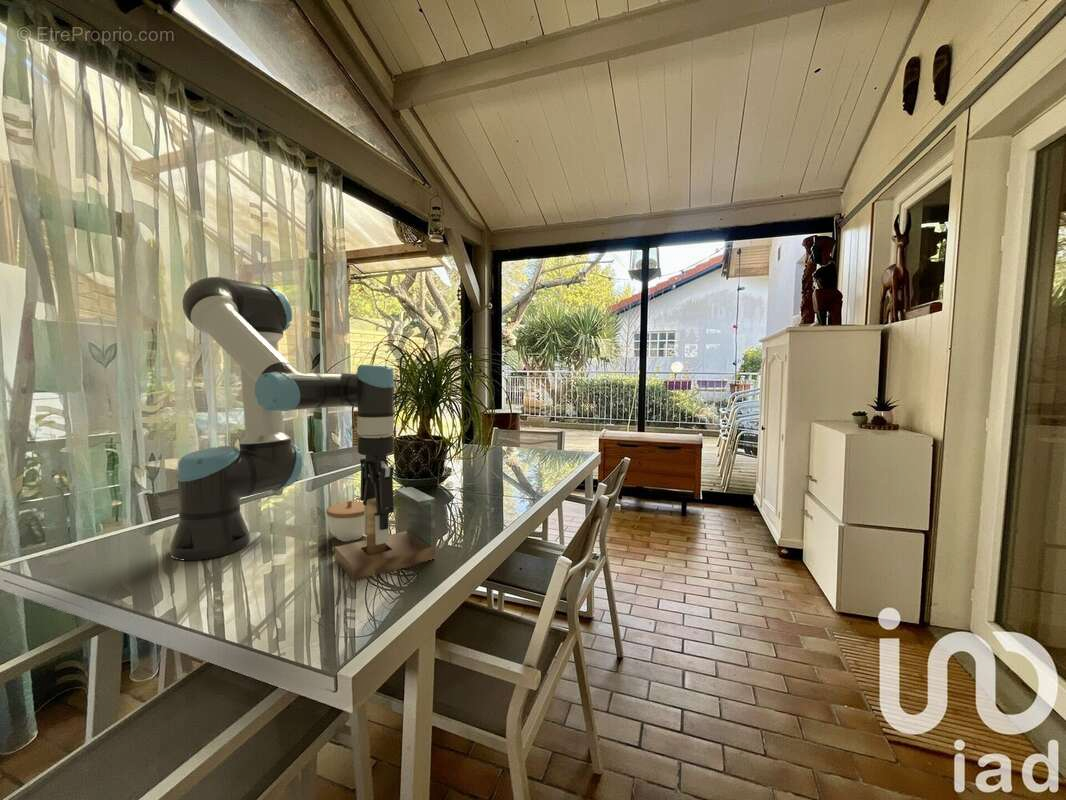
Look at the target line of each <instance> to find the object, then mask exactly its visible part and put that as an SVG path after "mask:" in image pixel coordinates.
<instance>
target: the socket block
mask: <svg viewBox="0 0 1066 800" xmlns="http://www.w3.org/2000/svg"><path fill="white" fill-rule="evenodd" d="M394 491H395V494H396V495H397V496H400V497H401V498H403V499H405V500H407V501H406V530H405V531H401V532H395V533H392V534H391V533H390V534H389V542H387V543H386V552H382V553H378V554H374V555H369V556H368V555H367V539H365V540H361V541H360V540H359V541H356V542H351V543H347V544H346V543H345V544H342V545H339V546H338V545H337V546H334V560H336V561H337V562H336V561H335V562H336V563H337V564H338V565H339V567H340V568H341V567H342V568H343V569H342V568H341V569H342V570H343V571H344V572H345V574H346V575H347V574H348V575H349V576H350V577H349V576H348V575H347V576H348V577H349V578H350V579H351V580H352V582H358V581H361V580H360V579H362V580H364V579H363V578H365V579H367V578H366V577H369V576H372V577H374V576H373V575H376V576H378V575H377V574H380V575H382V574H381V573H383V574H386V572H387V573H390V572H393V571H396V570H397V569H398V570H401V569H404V568H408V567H411V566H415V564H416V565H418V564H422V562H423V563H425V561H426V562H429V561H428V560H430V561H433V560H432V559H434V560H436V498H435V497H433V496H431V495H429V494H427V493H425V492H422V491H420V490H419V489H416V488H414V487H413V486H407V487H402V488H395V490H394ZM369 578H370V577H369ZM357 580H358V581H357Z"/></svg>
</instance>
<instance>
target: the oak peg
mask: <svg viewBox="0 0 1066 800" xmlns="http://www.w3.org/2000/svg"><path fill="white" fill-rule="evenodd" d="M374 513H377V507H376V498H372V499H368V500H367V535H366V540H367V555H368V556H369V555H374V554H378V553H382V552H386V543H383V544H379V545H376V544H375V516H374Z"/></svg>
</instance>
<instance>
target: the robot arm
mask: <svg viewBox="0 0 1066 800" xmlns="http://www.w3.org/2000/svg"><path fill="white" fill-rule="evenodd" d="M291 306H292V305H291V302H290V300H289V299H288V297H287V296H286V294H284V293H283V291H281V290H280V289H278V288H275V287H273V286H272V287H271V286H268V285H265V284H261V283H260V284H259V283H258V284H257V283H252V282H247V281H240V280H236V279H230V278H225V277H220V276H212V277H211V276H209V277H204V278H201V279H199V280H197V281H195V282H194V283H192V284H191V285H190V286H188V288H187V289H186V290H185V292H184V294H183V297H182V310H183V313H184V315H185V317H186V318H187V320H188V321H189V322H190V323H191V324H192V326H194V328H195V329H196V330H198V331H200V332H201V333H204V334H208V335H209V336H210V337H211V338H212V339H213V340H214V341H215V342H216V343H217V344H218V345H219V346H220V347H221V348H222V350H224V351H225V352H226V354H228V355H229V357H230V358H231V359H232V360H233V361H234V362H235V363H236V364H237V365H238V366H239V367H240V377H241V389H242V390H241V391H242V403H243V415H244V416H243V417H244V431H245V432H244V433H245V436H244V437H243V438H242V439H240V441H239V444H238V445H239V448H238V447H237V446H235V445H222V446H217V447H208V448H204V449H198V450H195V451H192V452H189V453H187V454H185V455H184V456H182V457H181V458H180V459H179V461H178V462H177V463H178V464H177V465H178V467H177V474H176V480H177V490H178V492H177V493H178V494H177V495H178V496H177V497H178V514H179V515H178V519H179V520H178V523H177V527H176V528H175V532H174V535H173V537H172V540H171V543H170V547H169V549H170V550H169V551H170V552H169V554H171V555H172V556H173V557H175V558H178V559H184V560H193V561H203V560H202V559H204V560H209V559H208V558H210V559H215V558H218V557H219V556H220V557H223V555H224V556H226V555H230V554H233V553H236V552H238V551H240V550H242V549H244V548H245V547H246V545H247V544H248V545H249V543H250V532H249V529H248V527H247V524H246V522H245V520H244V517H243V514H242V513H241V498H242V499H243V498H247V497H251V496H255V495H258V494H259V495H260V494H263V493H267V492H272V491H274V492H276V491H279V490H281V489H284V488H287V487H290V486H292V485H294V484H295V482H296V481H297V480H298V479H299V477H300V475H301V473H302V471H303V465H304V464H303V461H304V460H303V455H302V452H301V451H300V448H299V447H298V445H296V444H294V443H292V438H291V437H290V436H289V435H288V434H286V433H285V431H284V430H285V429H284V418H283V417H284V416H283V412H287V411H288V412H289V411H295V410H298V411H299V410H307V409H310V410H311V409H324V408H337V407H349V408H351V407H352V408H353V407H354V408H357V415H356V421H357V422H356V423H357V425H356V426H357V427H356V431H357V432H356V434H358V435H359V436H358V437H357V452H358V454H359V455H361V456H365V457H363V458H360V461H359V462H360V502H363V504H364V505H365V506H364V534H363V535H364V536H367V500H368V499H372V498H376V507H377V513H374V516H375V544H376V545H379V544H383V543H387V542H389V535H390V514H392V513H394V511H395V510H394V508H395V507H394V481H393V480H394V479H393V478H394V467H393V466H389V463H388V458H387V456H388V455H389V454H392V453H394V452H395V451H394V450H395V437H394V436H393V434H394V425H395V424H396V418H395V417H394V416H395V414H394V412H395V409H394V408H395V407H394V405H395V403H394V402H395V401H394V399H395V397H394V395H395V393H394V392H395V385H396V384H395V381H394V379H395V378H394V369H393V367H392V366H390V365H385V364H360V365H358V366H357V371H356V373H346V372H345V373H343V372H324V373H323V372H300V371H299V370H298V369H297V368H296V367H295V366H294V365H293V364H292V363H291V362H289V360H288V359H287V358H285V357H284V355H282V354H281V353H280V351H279V349H278V348H279V347H278V343H279V341H281V339H283V338H284V332H285V331H287V330H288V329H289V327H290V326H291V322H292V319H293V311H292V309H293V308H292V307H291ZM394 418H395V419H394ZM248 545H247V546H248ZM243 547H244V548H243ZM171 555H170V556H171ZM214 557H215V558H214ZM220 557H219V558H220ZM184 560H183V561H184Z"/></svg>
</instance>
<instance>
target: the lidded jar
mask: <svg viewBox="0 0 1066 800" xmlns="http://www.w3.org/2000/svg"><path fill="white" fill-rule="evenodd" d="M364 506H365V505H364V504H363V501H361V500H358V501H356V500H355V501H354V500H353V501H352V500H347V501H345V502H339V503H335V504H333V505H331V506H329V507H328V508H326V522H327V526H328V530H329V531H330V533H331V535H332V536H333V537H335V538H336V540H337V539H338V540H337V541H339V540H341V541H340V542H352V541H351V540H353V541H357V540H359V539H361V538H362V537H363V535H364Z"/></svg>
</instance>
